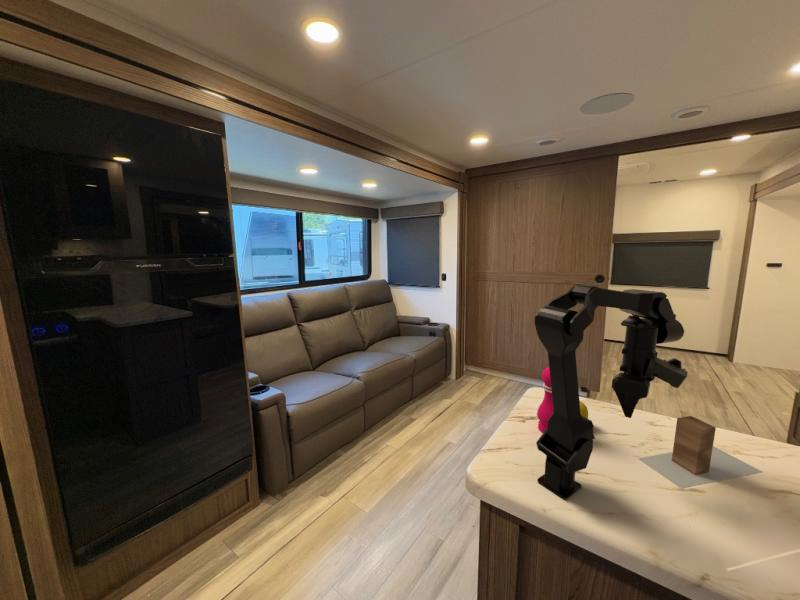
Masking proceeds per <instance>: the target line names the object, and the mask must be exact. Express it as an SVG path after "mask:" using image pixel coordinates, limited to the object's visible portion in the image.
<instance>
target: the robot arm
mask: <svg viewBox="0 0 800 600" xmlns="http://www.w3.org/2000/svg"><path fill="white" fill-rule="evenodd" d="M667 297H668V296H667V294H666V293H665V292H662V291H655V290H644V289H643V290H642V289H636V288H635V289H634V288H631V289H630V288H629V289H624V290H622V291H621V290H614V289H608V288H602V287H599V286H597V285H589V284H581V283H580V284H575V285H574V286H571V287H570V289H569V290H568V291H567V292H565V293H563V294H560V295H559V296H557V297H555V298H553V299H551V300H550V301H548V303H547V304H545V306H543V307H541V308H540V310H538V312H537V313H536V315H535V316H534V327H535V330H536V333H537V337H538V339H539V341H540V342H541V344H542V345H543V347H544V348H545V350H546V351H547V358H548V359H547V360H548V367H549V369H550V379H551V388H552V398H553V407H554V413H553V414H552V415H551V417H550V418H549V419H548V426H547V429H546V430H545V431H544V433H541V435H540V437H539V438H538V439H537V441H536V442H535V443H536V448H537V450H538V451H539V452H541V453H543V454H544V455H545V463H544V465H545V466H544V473H543V474H542V475H541V476H540V477H538V478H537V480H536V481H537V483H539V484H540V485H541V486H543V487H545V488H546V489H548V490H550V491H551V492H553V493H554V494H556V496H559V497H560V498H562V499H563V500H568V499H569V498H571V497H572V496H573V495H574V494H575V493H576V492H578V491H579V490H580V489H581V488H582V484H581V483H579V482H578V481H576V473H577V472H579V471H582V470H585V469H586V468H587V466H588V464H589V461H590V458H591V455H592V453H593V448H594V440H595V439H596V437H595V435H594V423H593V421H592V420H590V419H589V418H588V419H587V418H585V417H583V416H581V413H580V402H579V401H580V392H579V391H580V389H579V382H578V366H577V357H576V352H577V349H578V348H579V346H580V345H581V343H582V342H583V340H584V333H585V332H584V331H585V330H586V329H587V328H588V327H589V326H591V324H592V323H593V322H594V319H595V311H596V309H597V308H598V307H605V308H606V307H607V308H614V309H619V310H620V311H622V312H624V313H626V314H630V315H629V316H628V317H627V318H625V319H624V320H622V321H621V322H620V325H621V326H622V327H625V328H626V329H625V335H624V336H625V337H624V344H623V348H621V354H622V362H621V365H620V366H619V371H620V372H618V373H617V374H615V376H613V378H612V381H611V388H612V389H613V391H614V393H615V396H616V398H617V399H618V402H619V405H620V407H621V409H622V412H623V415H624V417H625V418H629V419H631V418H632V417H633V414H634V411H635V409H636V406H637V405H638V404H639V401H640V400H641V399H646V398H648V396H649V393H650V389H651V382H652V381H654V380H655V378H656V379H659V380H661V381H663V382H665V383H667V384H669V386H671V387H672V388H676V389H678V388H680V386H681V385H682V384H683V382H684V381H685V380H686V378H687V377H688V371H687V370H686V369H685V368H682V360H679V359H677V358H675V357H673V358H671V359H669V360H666V359H662V358H659V357H658V353H659V352H658V351H657V345H658V344H659V345H660V344H667V343H673V342H677V341H680V340H681V339H682V338H683V337H684V334H685V329H684V326H683V325H682V323H681V322H680V321H679V320H677V319H676V318H677V315H676V314H675V313H674V310H673V308H672V304H671V302H670V300H669V298H667ZM577 305H583V307H582V308H581V309H580V310H578V311H576V310H572V308H575V307H576V306H577Z"/></svg>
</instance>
